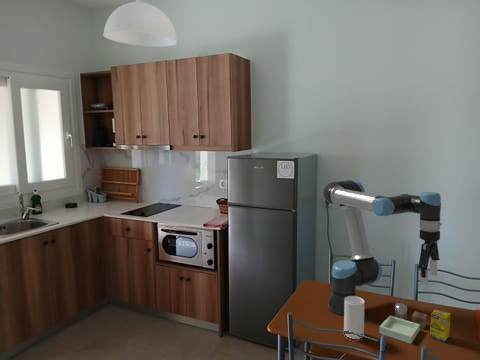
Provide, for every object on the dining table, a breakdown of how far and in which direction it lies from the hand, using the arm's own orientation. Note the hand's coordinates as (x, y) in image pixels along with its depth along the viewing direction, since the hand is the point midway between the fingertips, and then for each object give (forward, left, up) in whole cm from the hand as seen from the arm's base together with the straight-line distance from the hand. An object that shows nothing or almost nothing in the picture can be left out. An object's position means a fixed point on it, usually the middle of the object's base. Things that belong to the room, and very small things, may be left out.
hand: (428, 279), depth 149 cm
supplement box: (+4, +4, -26) cm, 27 cm away
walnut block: (-5, +9, -26) cm, 28 cm away
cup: (-25, -17, -26) cm, 40 cm away
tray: (-10, -2, -26) cm, 28 cm away
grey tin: (-13, +9, -26) cm, 31 cm away
